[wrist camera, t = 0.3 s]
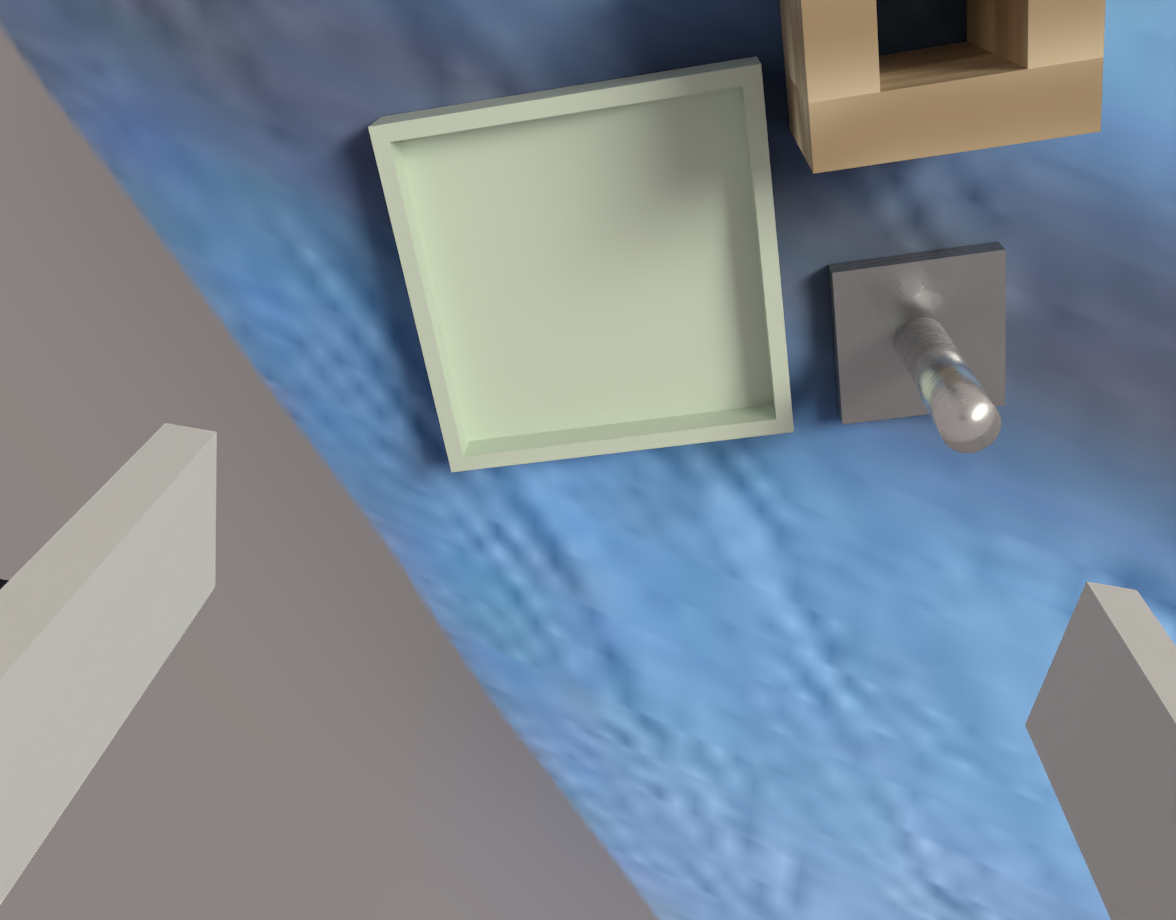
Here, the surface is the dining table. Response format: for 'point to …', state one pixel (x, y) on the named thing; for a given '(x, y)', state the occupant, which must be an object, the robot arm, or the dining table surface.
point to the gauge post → (923, 340)
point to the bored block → (939, 81)
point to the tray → (593, 265)
